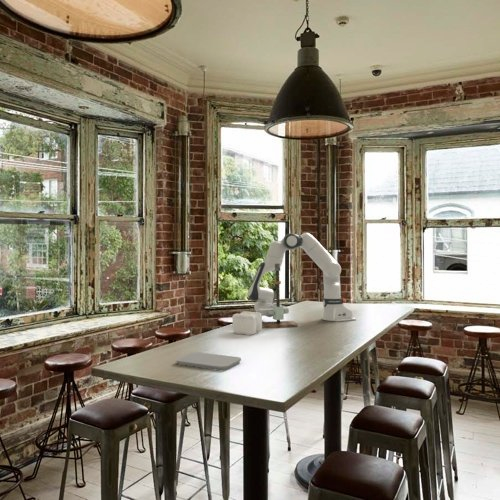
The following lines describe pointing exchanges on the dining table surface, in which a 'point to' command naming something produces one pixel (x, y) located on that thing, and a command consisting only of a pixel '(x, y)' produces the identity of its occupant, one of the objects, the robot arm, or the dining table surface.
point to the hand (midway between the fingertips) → (278, 312)
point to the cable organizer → (247, 322)
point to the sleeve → (278, 313)
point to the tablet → (209, 361)
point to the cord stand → (278, 323)
